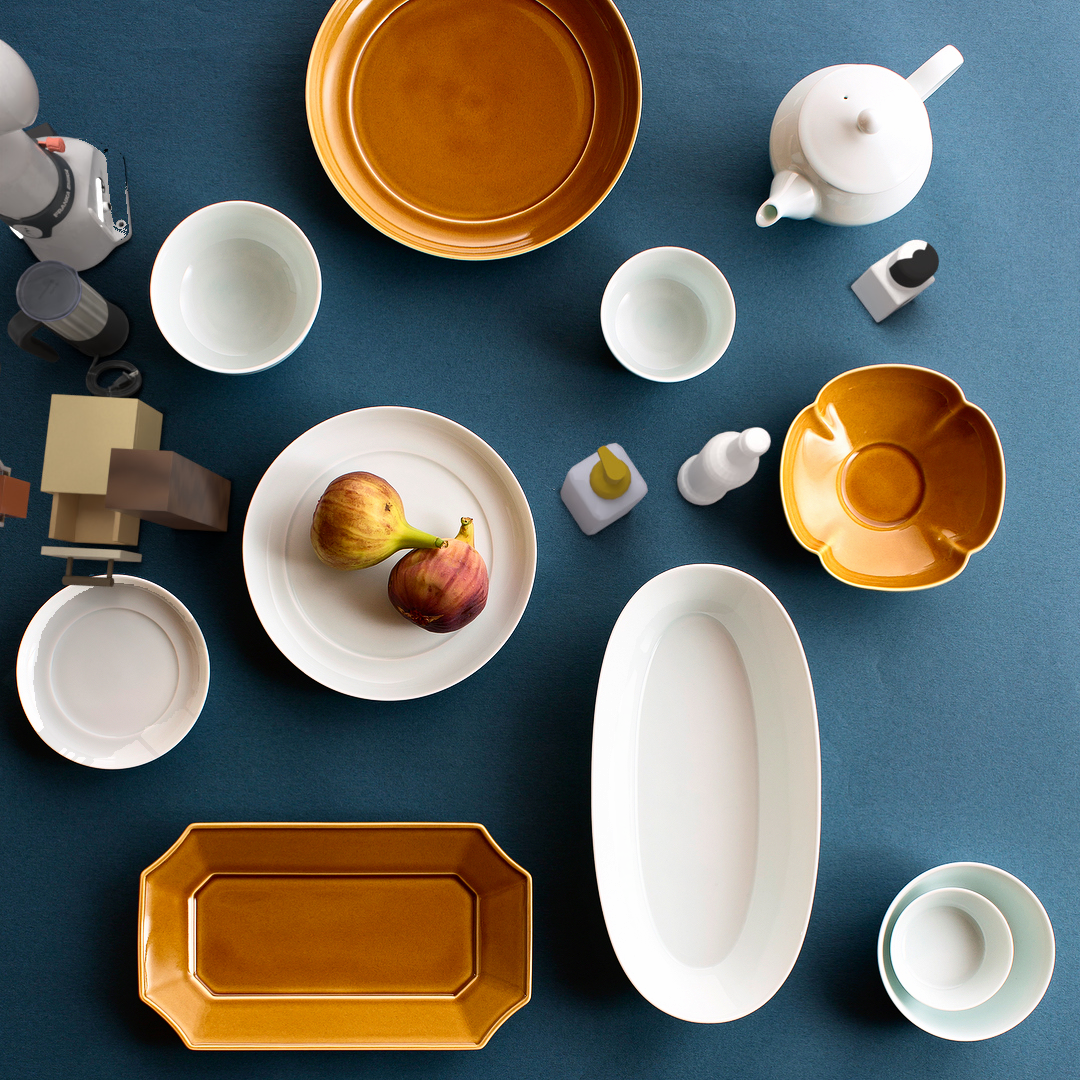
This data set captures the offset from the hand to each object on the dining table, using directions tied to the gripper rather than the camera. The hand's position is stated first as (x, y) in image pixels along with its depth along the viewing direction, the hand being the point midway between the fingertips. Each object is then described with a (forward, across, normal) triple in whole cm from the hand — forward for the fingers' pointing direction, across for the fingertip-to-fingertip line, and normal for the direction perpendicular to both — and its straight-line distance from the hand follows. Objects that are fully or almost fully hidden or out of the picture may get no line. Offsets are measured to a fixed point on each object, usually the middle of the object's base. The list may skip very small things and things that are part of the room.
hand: (1, 497), depth 97 cm
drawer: (+26, +1, 0) cm, 26 cm away
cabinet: (+27, -11, 0) cm, 29 cm away
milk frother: (+27, -28, -3) cm, 39 cm away
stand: (+27, -4, +14) cm, 31 cm away
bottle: (+27, -12, +93) cm, 98 cm away
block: (+2, 0, 0) cm, 2 cm away
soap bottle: (+27, -8, +76) cm, 81 cm away
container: (+27, -46, +123) cm, 134 cm away
